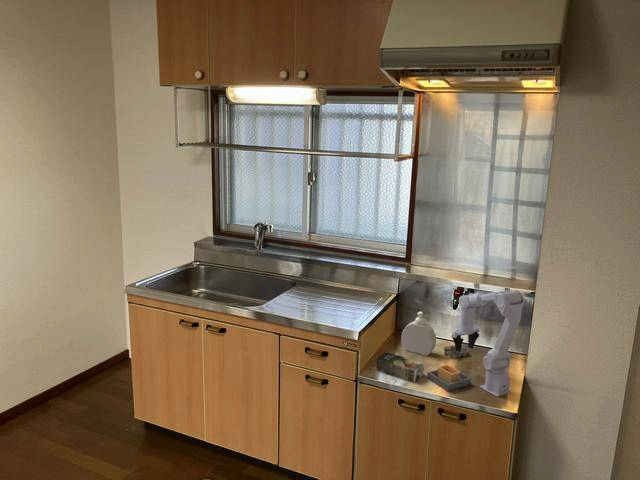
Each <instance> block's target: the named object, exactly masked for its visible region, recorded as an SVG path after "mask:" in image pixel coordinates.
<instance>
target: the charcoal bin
mask: <svg viewBox="0 0 640 480" xmlns="http://www.w3.org/2000/svg"><path fill="white" fill-rule="evenodd" d="M453 368H454V367H453ZM454 369H456V368H454ZM426 379H427V380H429V381H430V382H432V383H434V385H436V386H439V388H441V389H443V390H444V391H446V392H448V393H449V392H451V391H455V390H457V389H461V388H464V387H468V386H471V385H472V377H470V376H469V375H466V374H465V373H463V372H462V371H460V381H456V382H453V383H450V384H448V383H446V382H445V381H443V380H441V379H440V378H438V368H437V369H434V370H430V371H427V374H426Z"/></svg>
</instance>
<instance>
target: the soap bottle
mask: <svg viewBox="0 0 640 480" xmlns="http://www.w3.org/2000/svg"><path fill="white" fill-rule="evenodd" d="M423 315H424V313H423V311H418V312H417V317H415V320H413V321H412V322H410V323H408V324H407V325H406V326H405V327H404V329H403V330H402V333H401V336H400V337H401V345H402V347H403V349H404V350H405V351H407V352H412V353H414V354H418V355H422V356H425V357H426V356H428V355H430V354H431V353H432V352H433V350H434V349H435V347H436V345H437V337H436V336H437V335H436V333H435V330H434V328H433V327H432V326H431V325H430V324H429V323H427V322H425V318H424V317H423ZM428 357H429V356H428Z"/></svg>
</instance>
